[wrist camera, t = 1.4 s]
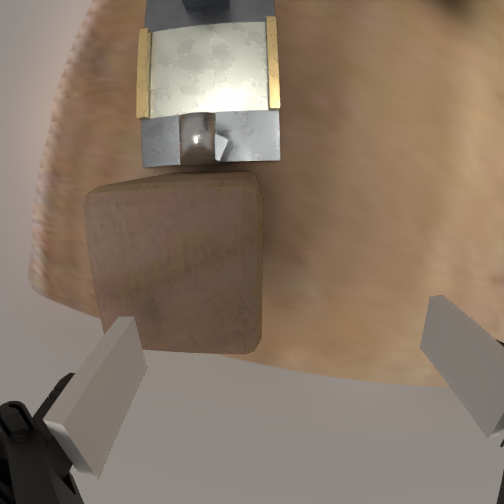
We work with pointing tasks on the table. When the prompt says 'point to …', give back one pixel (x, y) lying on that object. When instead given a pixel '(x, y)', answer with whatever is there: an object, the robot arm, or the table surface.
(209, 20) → the grey metal fixture stand
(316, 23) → the table surface
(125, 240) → the wooden block
